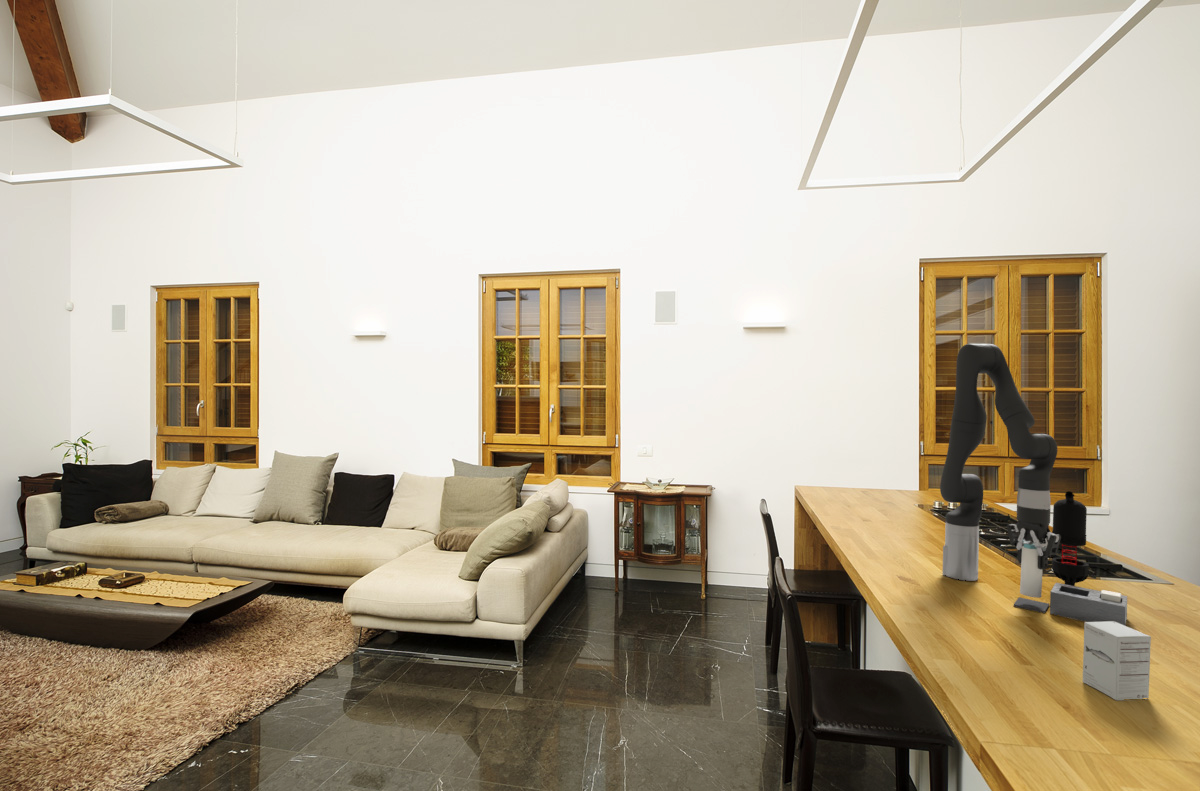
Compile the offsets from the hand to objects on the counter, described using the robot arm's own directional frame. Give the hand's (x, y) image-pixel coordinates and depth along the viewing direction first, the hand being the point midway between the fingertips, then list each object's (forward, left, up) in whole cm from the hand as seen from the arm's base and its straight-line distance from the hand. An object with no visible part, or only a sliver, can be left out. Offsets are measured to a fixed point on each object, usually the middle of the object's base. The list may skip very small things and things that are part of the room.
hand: (1032, 565), depth 162 cm
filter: (+5, +32, -12) cm, 34 cm away
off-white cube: (+16, +2, -9) cm, 19 cm away
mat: (0, 0, -11) cm, 11 cm away
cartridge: (0, 0, -8) cm, 8 cm away
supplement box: (+19, -45, -12) cm, 51 cm away
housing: (+12, +2, -11) cm, 17 cm away
